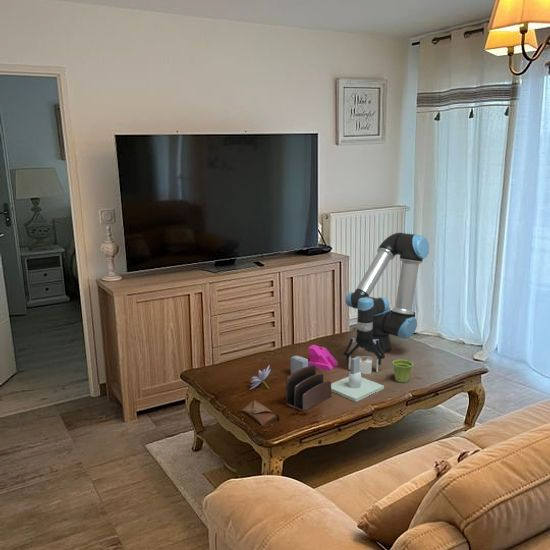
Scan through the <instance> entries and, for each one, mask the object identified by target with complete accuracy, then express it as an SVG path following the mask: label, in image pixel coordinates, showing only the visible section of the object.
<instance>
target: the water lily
mask: <svg viewBox="0 0 550 550" xmlns="http://www.w3.org/2000/svg"><path fill="white" fill-rule="evenodd" d="M270 373H271V368H270V364H269V365H268V366H267V367H266V369H265V368H264V369H262V370H260V369H259V370H258V376H252V377H251V383H252V384H249V386H251V387H250V388H249V390H248V391H251V390H252V389H254V388H256V387H258V386H259V385H260V384H261V383H263V384H264V385H265V387H266V388H267V389H268V390H269V389H270V387H269V386H268V385H267V383H266V381H265V379H266V378H268V376H269V375H270Z"/></svg>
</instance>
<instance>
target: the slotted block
mask: <svg viewBox="0 0 550 550" xmlns="http://www.w3.org/2000/svg"><path fill="white" fill-rule="evenodd" d="M355 357H359V358H360V364H359V371H360V372H361V373H362V374H363V375H372V371H373V356H363V355H356V356H355ZM362 374H361V375H362Z"/></svg>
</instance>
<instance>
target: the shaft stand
mask: <svg viewBox="0 0 550 550" xmlns="http://www.w3.org/2000/svg"><path fill="white" fill-rule="evenodd" d="M359 364H360V358H359V357H356V356H355V357H353V358H351V369H350V371H349V372H348V376H347V377H346V376H345V377H343V378H342V379H340V380H337V381H334V382H331V393H333V392H334V393H333V394H336V393H337V394H336V395H338V394H339V395H338V396H340V395H341V396H340V397H343V398H345V397H346V399H347V398H348V400H350V401H353V402H355V403H356V402H358V401H361V400H363V399H366V398H367V397H369V395H370V396H371V394H372V395H374V394H376V393H378V392H380V391H382V390H384V389H385V385H383V384H380V383H378V382H376V381H373V380H370V379H368V378H365V377H362V374H361V372H360V371H359ZM375 392H376V393H375ZM373 393H374V394H373Z"/></svg>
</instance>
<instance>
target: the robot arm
mask: <svg viewBox="0 0 550 550" xmlns="http://www.w3.org/2000/svg"><path fill="white" fill-rule="evenodd" d="M429 253H430V243H429V241H428V239H427V237H425V236H424V235H419V234H415V233H414V234H413V233H405V232H395V233H392V234H390V235H389V236H387V238H385V239H384V240H383V241H382V242H381V243H380V245H379V246H378V248H377V250H376V255H375V257H374V259H373V260H372V262H371V263H370V265H369V267H368V269H367V270H366V272H365V274H364V275H363V277H362V279H361V281H360V282H359V284H358V286H357V288H355V290H354V292H349V293H347V295H346V296H345V304H346V305H347V306H348V307H350V308H352V309H357V319H356V320H357V321H356V328H357V329H356V338H355V337H353V336H351V337H350V340H349V343H348V344H347V346H346V347H345V349H344V351H343V354H342V355H343V356H345V357H346V363H348V370H350V371H351V359H352V356H351V355H353V353H354V352H355V351H356V350H358V348H361V349H364V348H365V349H364V350H366V351H367V352H370V353H373V354H374V355H375V356H376V373H379V366H381V365H382V364H381V363H382V359H383V360H384V359H385V357H386V355H385V354H386V352H387V353H390V352H392V351H393V344H392V341H391V337H390V335H391V336H395V337H398V338H403V339H409V338H411V337H412V336H413V334H414V333H415V332H416V331H417V327H418V320H417V318H416V317H415V313H414V311H413V310H412V309H413V303H414V299H415V298H414V297H415V293H416V292H415V291H416V285H417V284H416V283H417V278H418V273H419V265H420V264H422V263H423V260H424V259H426V258H427V257H428V255H429ZM397 255H399V261H401V267H400V273H399V274H400V275H399V280H398V287H397V294H396V301H395V306H394V307H393V308H392V309H391V307H390V302H389V300H388V299H387V298H386V297H383V296H379V297H372V296H370V295H371V294H372V292H373V290H374V289H375V286H376V285H377V283H378V281H379V280H380V279H381V277H382V275H383V273H384V271H385V270H386V268H387V266H388V265H389V263H390V261H391V260H393V259H395V257H396V256H397ZM354 343H356V344H355V345H354V346H353V347H352V348H351V346H352V344H354ZM350 348H351V349H350ZM391 350H392V351H391Z"/></svg>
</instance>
